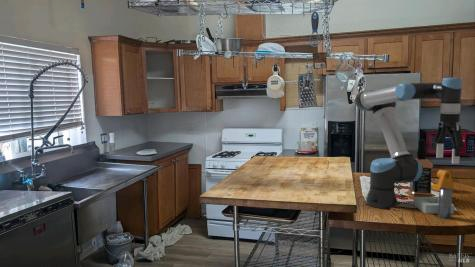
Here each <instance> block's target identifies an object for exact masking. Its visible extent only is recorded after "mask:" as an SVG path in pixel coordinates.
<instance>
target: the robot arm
mask: <svg viewBox="0 0 475 267" xmlns="http://www.w3.org/2000/svg"><path fill="white" fill-rule="evenodd" d="M441 80H442V81H441V82H403V83H402V82H401V83H399V84H398V85H396V86H395V85H394V86H390V87H385V88H381V89H377V90H376V89H375V90H374V89H373V90H362V91H360V92H358V93H357V94H356V95H355V99H354V104H355V106H356V107H357V108H358V109H359V110H360V111H363V112H372V114H373V116H374V117H375V118H377V119H378V123H379V125H380V128H381V131H382V135H383V137H384V140H385V143H386V146H387V148H388V152H389V154H390V157H388V158H387V157H385V158H384V157H381V158H375V159H374V160H372V162H371V164H370V169H369V170H370V171H369V172H370V175H369V177H370V180H369V182H370V183H369V190H368V193H367V195H366V199H365V203H366V204H367V205H368V206H370V207H373V208H377V209H391V208H393V207H397V206H398V198H397V195H396V191H395V184H405V183H406V184H407V183H409V184H410V182H414V181H417V180H418V179H419V178H420V177H421V174H422V165H421V163H420V162H419V161H418V160H416V159H415V158H414V156H413V154H412V153H410V152H409V151H408V149H407V146H406V143H405V140H404V137H403V135H402V132H401V130H400V127H399V125H398V122H397V121H398V120H397V119H396V116H395V113H394V112H395V111H396V107H397V106H398V105H397V104H398V103H397V102H405V101H410V100H440V109H439V110H440V111H439V112H440V115H439V122H438V127H437V131H436V134H435V137H434V139H433V141H434V142H435V143H436V153H435V155H436V156H435V157H436V159H437V158H438V159H439V158H441V159H443V158H444V146H445V142H444V141H445V139H446V138H447V136H449V138H450V140H451V144H452V146H453V147H452V152H451V153H452V154H451V164H452V165H459V164H460V158H461V150H462V149H464V148H465V146H464V145H465V144H464V141H463V134H462V131H461V130H462V127H461V125H457V123H460V120H461V114H460V113H461V108H462V107H461V102H462V101H461V99H462V90H463V80H462V78H461V77H443V78H442V79H441Z"/></svg>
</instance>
